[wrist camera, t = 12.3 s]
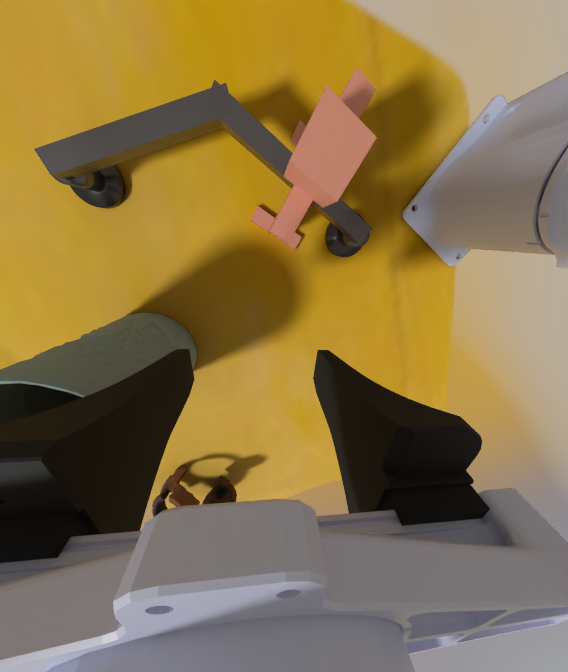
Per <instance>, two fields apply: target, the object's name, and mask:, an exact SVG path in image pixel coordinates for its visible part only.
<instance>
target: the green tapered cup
mask: <svg viewBox="0 0 568 672" xmlns="http://www.w3.org/2000/svg"><path fill="white" fill-rule="evenodd" d="M176 349H189V350H190V356H191V362H192V368H194V365H195V363H196V359H197V351H196V346H195V343H194V341H193V338H192V337H191V335H190V334H189V333H188V331H187V330H186V329H185V328H184V327H183V326H182V325H180V324H179V323H178V322H176V321H174V320H172V319H171V318H168V317H166V316H163V315H160V314H156V313H136V314H131V315H128V316H126V317H123V318H121V319H119V320H117V321H114V322H112V323H110V324H108V325H106V326H104V327H100V328H99V329H97V330H93V331H92V332H90V333H88V334H84V335H82V336H81V338H80V339H78V340H75V341H71V342H67V343H65V344H63V345H61V346H56V347H54V348H52V349H49V350H47V351H45V352H43V353H40V354H38V355H36V356H35V357H34V358H32V359H29V360H25V361H21V362H18V363H16V364H13V365H11V366H8V367H6V368H3V369H1V370H0V424H3V423H7V422H11V421H14V420H18V419H21V418H25V417H28V416H31V415H34V414H38V413H41V412H44V411H47V410H50V409H53V408H56V407H59V406H61V405H64V404H67V403H70V402H73V401H75V400H78V399H80V398H83V397H85V396H88V395H90V394H93V393H95V392H98V391H100V390H102V389H105V388H107V387H109V386H111V385H113V384H115V383H118V382H120V381H122V380H124V379H126V378H127V377H129V376H131V375H133V374H135V373H137V372H138V371H140V370H142V369H144V368H146V367H147V366H149V365H151V364H152V363H154V362H156V361H157V360H159V359H161V358H162V357H164V356H166V355H167V354H169V353H171V352H172V351H174V350H176Z"/></svg>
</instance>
